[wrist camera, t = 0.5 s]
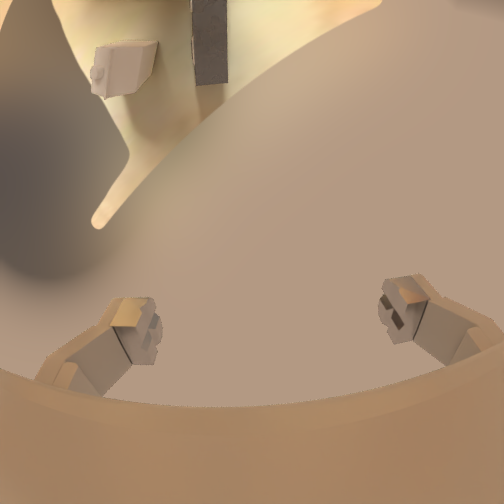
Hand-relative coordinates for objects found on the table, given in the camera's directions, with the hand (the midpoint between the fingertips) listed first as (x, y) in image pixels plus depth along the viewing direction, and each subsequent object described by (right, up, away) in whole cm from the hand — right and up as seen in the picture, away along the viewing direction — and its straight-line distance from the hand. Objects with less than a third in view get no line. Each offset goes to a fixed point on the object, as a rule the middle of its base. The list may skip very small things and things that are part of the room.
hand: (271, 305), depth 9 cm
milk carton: (-22, +38, +28) cm, 52 cm away
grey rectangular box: (-9, +43, +25) cm, 50 cm away
